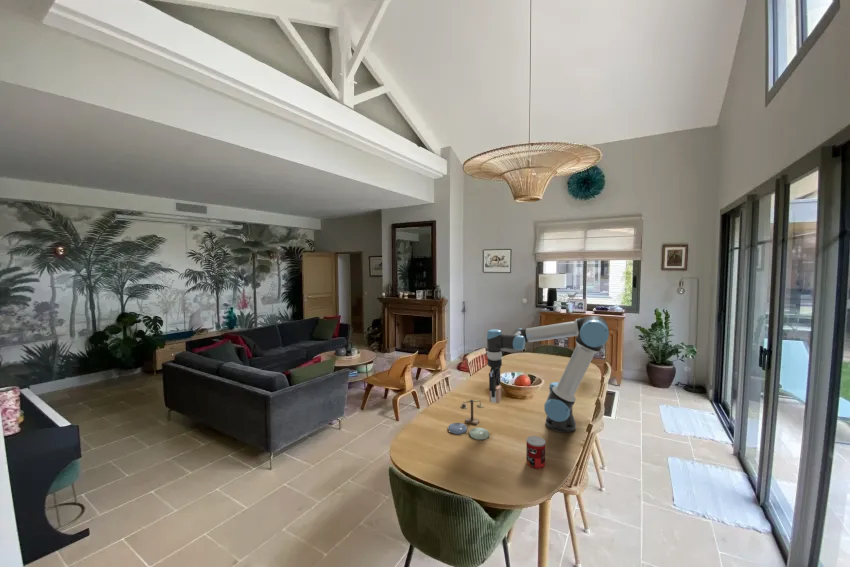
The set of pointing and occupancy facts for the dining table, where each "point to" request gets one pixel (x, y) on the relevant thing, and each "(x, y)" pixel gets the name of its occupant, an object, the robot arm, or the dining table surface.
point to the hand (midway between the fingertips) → (495, 400)
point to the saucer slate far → (457, 428)
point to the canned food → (535, 452)
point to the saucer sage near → (479, 433)
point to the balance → (471, 420)
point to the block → (498, 394)
